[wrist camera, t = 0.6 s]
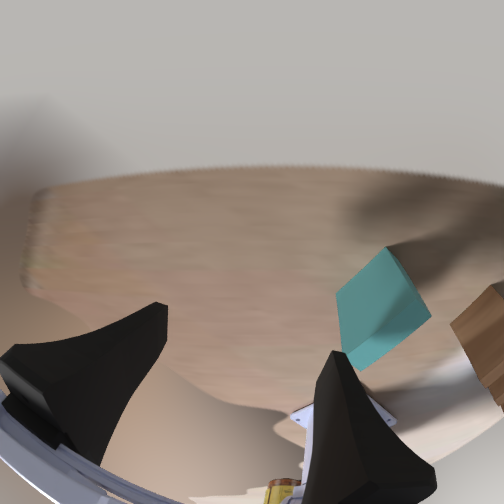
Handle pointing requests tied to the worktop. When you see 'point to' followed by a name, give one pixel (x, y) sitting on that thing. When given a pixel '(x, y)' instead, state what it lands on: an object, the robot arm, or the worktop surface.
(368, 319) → the domino
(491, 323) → the domino
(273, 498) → the sauce bottle
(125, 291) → the worktop surface
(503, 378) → the domino
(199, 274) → the worktop surface
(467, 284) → the worktop surface
